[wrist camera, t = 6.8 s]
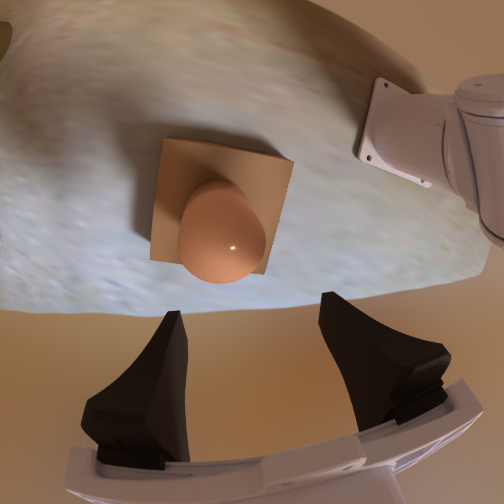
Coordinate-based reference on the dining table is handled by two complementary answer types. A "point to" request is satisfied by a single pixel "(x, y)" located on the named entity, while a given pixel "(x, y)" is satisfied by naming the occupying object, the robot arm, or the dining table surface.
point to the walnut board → (209, 169)
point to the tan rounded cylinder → (220, 233)
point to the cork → (4, 37)
